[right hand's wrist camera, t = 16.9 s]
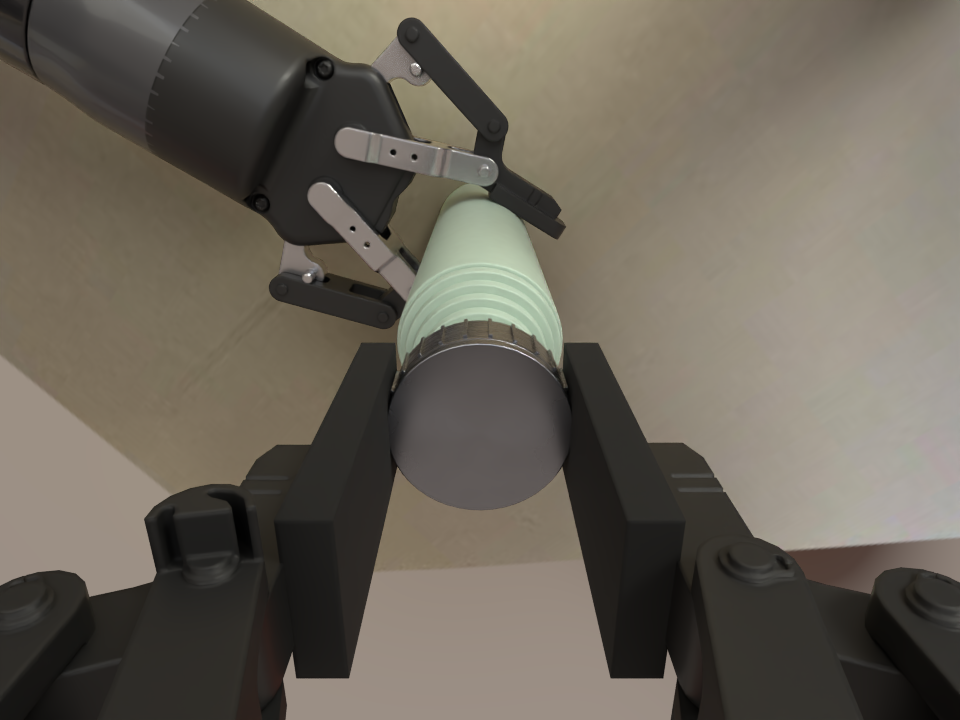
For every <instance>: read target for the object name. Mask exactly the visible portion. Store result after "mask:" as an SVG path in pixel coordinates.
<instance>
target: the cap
mask: <svg viewBox="0 0 960 720" xmlns="http://www.w3.org/2000/svg"><path fill="white" fill-rule="evenodd" d="M568 390H569V389H568V386H567V382H566V379H565V376H564V373H563V370H562V368H560V369H559V368H558V366H557V364H556V362H555V360H554V357H553V354H552V351H551V350H550V349H549V350H547V349H546V348H545V347H544V346H543V345H542V344H541V343H540V342H538V341H537V340H536V336H535V335H534V334H532V336H531V335H529V334H527V333H526V332H524V331H522V330H520V329H518V328H516V327H515V324H511V325H507V324H504V323H500V322H494V321H492V319H490V318H488V321H484V320H475V321H468V319H464V322H460V323H455V324H452V325H449V326H446V327H445V325H442V326H441V329H440V330H438V331H436V332H434V333H432V334H431V335H429V336H428V337H426V338H425V337H424V336H423V337H422V338H421V341H420V343H419V344H418V345H417V346H416V347H415V348H414V349H413V350H412V351H411V353H409V352H407V353H406V355H405V359H404V362H403V365H402V367H401V369H400V371H396V374H395V377H394V381H393V384H392V387H391V390H390V394H392V397H391V400H390V404H389V407H388V427H389V443H390V452H391V455H392V457H393V459H394V461H395V463H396V465H397V466H398V468H399V469H400V471H401V473H402V474H403V475H404V476H405V477H406V479H407V480H408V481H409V482H410V483H411V484H412V485H413V486H415V487H416V488H417V489H418V490H419V491H421V492H422V493H424V494H425V495H427V496H429V497H430V498H432V499H434V500H436V501H438V502H441V503H443V504H446V505H449V506H453V507H457V508H462V509H468V510H491V509H498V508H503V507H507V506H510V505H514V504H516V503H519V502H521V501H523V500H526V499H528V498H529V497H531V496H533V495H534V494H536V493H537V492H539V491H540V490H541V489H543V488H544V487H545V486H546V485H547V484H548V483H549V482H550V481H551V480H552V479H553V478H554V477H555V476H556V474H557V473H558V472H559V471H560V469H561V467H562V466H563V464H564V462H565V461H566V458H567V456H568V454H569V451H570V436H571V420H572V408H571V404H570V401H569V398H568V395H567V391H568Z"/></svg>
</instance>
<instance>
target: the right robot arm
mask: <svg viewBox="0 0 960 720" xmlns="http://www.w3.org/2000/svg"><path fill="white" fill-rule="evenodd" d="M396 371H397V364H396V345H395V343H361V345H360V347H359V349H358V351H357V353H356V355H355V357H354V359H353V361H352V363H351V365H350V367H349V369H348V371H347V373H346V375H345V377H344V379H343V381H342V383H341V385H340V387H339V389H338V391H337V393H336V395H335V397H334V399H333V401H332V404H331V406H330V408H329V410H328V412H327V414H326V416H325V418H324V420H323V422H322V424H321V426H320V428H319V430H318V432H317V434H316V436H315V438H314V440H313V442H312V444H311V445H276V446H275V447H273V448H272V449H271V450H269V451H268V452H266V453H265V454H264V455H262V456H261V457H259V458H258V459H257V460H256V461H255V463H254V464H253V466H252V468H251V469H250V471H249V472H248V474H247V475H246V480H243V482H242V483H241V485H240V487H238V486H235V485H231V484H210V485H204V486H199V487H194V488H190V489H187V490H185V491H182V492H179V493H177V494H174V495H172V496H170V497H168V498H167V499H165V500H164V501H162V502H161V503H159V504H158V505H156V506H154V508H153V509H152V510H151V511H150V512H149V514H148V515H147V516H146V517H145V519H144V521H145V525H146V529H147V533H148V537H149V542H150V546H151V550H152V555H153V559H154V563H155V567H156V572H157V574H156V576H155V578H154V581H153V582H151V583H147V584H144V585H140V586H137V587H133V588H128V589H124V590H119V591H114V592H110V593H105V594H101V595H96V596H91V597H89V594H88V591H87V587H86V584H85V581H83V580H82V579H81V578H80V577H79V576H78V575H77V574H75V573H70V572H65V571H60V570H57V571H46V572H37V573H33V574H29V575H27V576H22V577H19V578H16V579H13V580H11V581H9V582H7V583H5V584H3V585H1V586H0V720H285V719H286V709H287V703H286V696H285V690H284V683H283V677H284V674H285V671H286V668H287V665H288V663H289V660H290V657H291V653H292V652H293V659H294V666H295V672H296V678H349V676H350V671H351V667H352V662H353V658H354V654H355V649H356V645H357V641H358V636H359V632H360V627H361V623H362V619H363V614H364V609H365V605H366V601H367V597H368V592H369V588H370V583H371V579H372V575H373V570H374V566H375V561H376V557H377V553H378V548H379V544H380V540H381V535H382V531H383V526H384V522H385V518H386V513H387V509H388V504H389V500H390V496H391V491H392V487H393V482H394V478H395V474H396V469H397V465H396V463H395V461H394V459H393V457H392V455H391V452H390V443H389V427H388V407H389V404H390V400H391V397H392V394H390V390H391V387H392V384H393V381H394V377H395V374H396ZM563 373H564V376H565V379H566V382H567V386H568V389H569V390H568V391H567V395H568V398H569V401H570V404H571V408H572V420H571V436H570V451H569V454H568V456H567V458H566V461H565V462H564V464H563V466H562V467H563V471H564V475H565V480H566V484H567V489H568V493H569V497H570V502H571V506H572V510H573V515H574V519H575V524H576V528H577V532H578V537H579V541H580V546H581V550H582V554H583V559H584V563H585V568H586V572H587V576H588V581H589V585H590V589H591V594H592V598H593V603H594V607H595V612H596V616H597V620H598V625H599V629H600V634H601V638H602V642H603V647H604V651H605V656H606V660H607V664H608V669H609V673H610V677H611V678H663V676H664V669H665V663H666V656H667V649H668V652H669V655H670V658H671V661H672V663H673V666H674V669H675V672H676V675H677V683H676V689H675V696H674V702H673V709H672V715H671V720H960V583H959V582H957V581H955V580H953V579H951V578H949V577H947V576H944V575H941V574H938V573H934V572H930V571H926V570H923V569H913V568H902V567H901V568H896V569H891V570H886V571H884V572H883V573H882V574H880V575H879V576H878V577H877V578H876V579H875V582H874V586H873V589H872V592H871V594H867V593H863V592H858V591H853V590H849V589H844V588H839V587H835V586H830V585H826V584H822V583H819V582H815V581H811V580H808V579H806V577H805V575H804V572H803V571H802V569H801V568H800V567H799V565H798V564H797V562H796V561H795V559H794V558H792V557H791V556H790V555H788V554H787V553H786V552H784V551H783V550H782V549H780V548H779V547H777V546H775V545H773V544H771V543H768V542H766V541H764V540H762V539H759V538H754V537H753V535H752V534H751V532H750V530H749V529H748V527H747V526H746V524H745V522H744V521H743V519H742V518H741V516H740V515H739V513H738V511H737V510H736V508H735V507H734V505H733V503H732V502H731V500H730V499H729V497H728V496H727V494H726V492H723V488H722V486H721V485H720V483H719V481H718V480H717V478H714V473H713V472H712V470H711V469H710V467H709V466H708V464H707V462H706V461H705V459H704V458H703V457H702V456H701V455H699V454H698V453H696V452H695V451H694V450H692V449H691V448H689V447H688V446H687V445H685V444H684V443H647V441H646V439H645V437H644V435H643V433H642V431H641V429H640V427H639V425H638V423H637V421H636V419H635V416H634V414H633V412H632V410H631V408H630V406H629V404H628V402H627V400H626V398H625V396H624V394H623V392H622V390H621V388H620V386H619V384H618V382H617V380H616V378H615V376H614V374H613V372H612V370H611V368H610V366H609V364H608V362H607V360H606V358H605V356H604V354H603V352H602V350H601V348H600V346H599V344H598V343H564V357H563Z"/></svg>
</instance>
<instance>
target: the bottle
mask: <svg viewBox="0 0 960 720" xmlns="http://www.w3.org/2000/svg"><path fill="white" fill-rule="evenodd" d="M488 318H490V319H492V321H494V322H500V323H504V324H507V325H511V324H515V327H516V328H518V329H520V330H522V331H524V332H526V333H527V334H529V335H531V336H532V334H534V335H535V336H536V340H537V341H538V342H540V343H541V344H542V345H543V346H544V347H545V348H546V349H547V350H549V349H550V350H551V351H552V354H553V357H554V360H555V362H556V364H557V366H558V364H559V361H560V357H561V352H562V341H563V336H562V327H561V323H560V319H559V316H558V313H557V310H556V307H555V305H554V302H553V299H552V297H551V294H550V291H549V289H548V286H547V283H546V281H545V278H544V275H543V273H542V270H541V267H540V264H539V262H538V259H537V256H536V254H535V251H534V248H533V246H532V243H531V240H530V238H529V235H528V232H527V230H526V227H525V224H524V221H523V219H522V218H521V217H519V216H517V215H516V214H514V213H512V212H511V211H510V210H508V209H507V208H505V207H503V206H501V205H500V204H498V203H496V202H495V201H493V200H492V199H490V198H489V197H488V191H487V190H485V189H484V188H482V187H480V186H479V185H475V184H470V183H468V184H465V185H463V186H461V187H459V188H457V189H456V190H455V191H453V192H452V193H451V194H450V195H449V196H448V197H447V199H446V200H445V202H444V204H443V205H442V208H441V210H440V213H439V216H438V218H437V221H436V224H435V226H434V229H433V232H432V235H431V237H430V240H429V243H428V245H427V248H426V251H425V253H424V256H423V259H422V261H421V264H420V267H419V269H418V272H417V275H416V277H415V280H414V283H413V286H412V288H411V291H410V294H409V296H408V299H407V302H406V304H405V307H404V310H403V312H402V315H401V318H400V321H399V326H398V333H397V346H398V353H399V358H400V362H401V366H402V365H403V362H404V359H405V355H406V353H407V352H409V353H411V351H412V350H413V349H414V348H415V347H416V346H417V345H418V344H419V343H420V341H421V338H422V337H423V336H424V337H425V338H426V337H428V336H429V335H431V334H432V333H434V332H436V331H438V330H440V329H441V326H442V325H445V327H446V326H449V325H452V324H455V323H460V322H464V319H468V321H475V320H484V321H488Z"/></svg>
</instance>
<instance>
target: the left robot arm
mask: <svg viewBox="0 0 960 720" xmlns="http://www.w3.org/2000/svg"><path fill="white" fill-rule="evenodd" d="M0 60H2V61H4V62H5V63H7V64H9V65H11V66H12V67H14V68H16V69H17V70H19V71H21V72H23V73H24V74H26V75H28V76H30V77H31V78H33V79H35V80H37V81H38V82H40V83H42V84H44V85H46V86H47V87H49V88H50V89H52V90H54V91H55V92H57V93H58V94H60V95H61V96H63V97H64V98H65V99H67V100H68V101H70V102H71V103H72V104H73V105H75V106H76V107H77V108H79V109H80V110H81V111H83V112H84V113H85V114H87V115H88V116H90V117H91V118H92V119H94V120H96V121H97V122H99V123H100V124H102V125H104V126H105V127H107V128H109V129H110V130H112V131H114V132H116V133H117V134H119V135H121V136H123V137H124V138H126V139H128V140H130V141H131V142H133V143H135V144H137V145H138V146H140V147H142V148H144V149H145V150H147V151H149V152H151V153H153V154H154V155H156V156H158V157H159V158H161V159H163V160H165V161H166V162H168V163H170V164H172V165H173V166H175V167H177V168H179V169H181V170H182V171H184V172H186V173H188V174H189V175H191V176H193V177H195V178H196V179H198V180H200V181H202V182H203V183H205V184H207V185H209V186H210V187H212V188H214V189H216V190H217V191H219V192H221V193H223V194H224V195H226V196H228V197H230V198H231V199H233V200H235V201H237V202H238V203H240V204H242V205H244V206H245V207H247V208H249V209H251V210H253V211H255V212H257V213H259V214H260V215H262V216H263V217H264V218H266V219H267V220H268V221H269V222H270V223H271V225H272V226H273V227H274V229H275V230H276V232H277V233H278V235H279V236H280V237H281V238H282V239H283V240H285V242H284V248H283V253H282V259H281V265H280V270H279V274H278V275H277V276H276V277H275V278H274V279H273V280H272V281H271V282H270V284H269V291H270V293H271V295H272V296H273V297H274V298H275V299H276V300H278V301H281V302H285V303H288V304H292V305H296V306H299V307H303V308H307V309H310V310H314V311H318V312H321V313H325V314H329V315H333V316H336V317H340V318H344V319H347V320H351V321H355V322H358V323H362V324H366V325H369V326H373V327H377V328H380V329H387V328H390V327H391V326H393V325H394V323H395V321H396V320H397V319H399V318H400V317H401V315H402V312H403V310H404V307H405V304H406V302H407V299H408V296H409V294H410V291H411V288H412V286H413V283H414V280H415V277H416V275H417V272H418V269H419V267H420V264H421V263H420V262H419V261H418V260H417V259H416V258H415V256H414V255H413V254H412V253H411V252H410V251H409V250H408V249H407V247H406V246H405V245H404V242H403V240H402V239H401V238H400V236H399V235H398V234H397V233H396V232H395V230H394V229H393V228H392V227H391V226H390V225H389V222H390V220H391V218H392V216H393V215H394V213H395V210H396V206H397V202H398V198H399V195H400V194H401V193H402V192H403V191H404V190H405V189H406V188H407V187H408V185H409V184H410V183H411V182H412V180H413V178H414V176H415V175H416V173H420V174H424V175H429V176H433V177H442V178H448V179H452V180H457V181H461V182H466V183H470V184H475V185H479V186H480V187H482V188H484V189H485V190H487V191H488V197H489V198H490V199H492V200H493V201H495V202H496V203H498V204H500V205H501V206H503V207H505V208H507V209H508V210H510V211H511V212H512V213H514V214H516V215H517V216H519V217H521V218H522V219H524V220H525V221H527V222H529V223H530V224H532V225H533V226H535V227H537V228H538V229H540V230H541V231H543V232H545V233H546V234H548V235H550V236H551V237H553V238H555V239H557V240H558V238H559V237H560V235H561V234H562V232H563V231H564V229H565V228H566V225H565V224H564V223H563V221H562V220H560V219H559V218H557V216H558V215H559V213H560V212H561V209H560V207H559V206H558V204H557V203H556V201H555V200H554V199H553V197H552V196H551V195H549V194H547V193H546V192H544V191H543V190H541V189H540V188H538V187H536V186H535V185H533V184H532V183H530V182H529V181H527V180H525V179H524V178H522V177H521V176H519V175H518V174H516V173H514V172H513V171H511V170H510V169H508V168H507V167H506V166H505V165H504V163H503V161H502V150H503V145H504V141H505V136H506V134H507V131H508V121H507V119H506V117H505V116H504V115H503V113H502V112H501V111H500V110H499V109H498V108H497V107H496V105H495V104H494V103H493V102H492V101H491V100H490V99H489V98H488V96H487V95H486V94H485V93H484V92H483V91H482V90H481V88H480V87H479V86H478V85H477V84H476V83H475V82H474V81H473V79H472V78H471V77H470V76H469V75H468V74H467V73H466V71H465V70H464V69H463V68H462V67H461V66H460V65H459V64H458V62H457V61H456V60H455V59H454V58H453V57H452V56H451V54H450V53H449V52H448V51H447V50H446V49H445V48H444V47H443V45H442V44H441V43H440V42H439V41H438V40H437V39H436V37H435V36H434V35H433V34H432V33H431V32H430V31H429V30H428V28H427V27H426V26H425V25H424V24H423V23H422V22H421V21H420V20H418V19H416V18H407V19H405V20H403V21H402V22H401V23H400V25H399V27H398V30H397V37H396V38H395V39H394V40H393V41H392V43H391V44H390V45H389V46H388V47H387V48H386V49H385V50H384V52H383V53H382V54H381V55H380V56H379V57H378V58H377V59H376V61H375V62H374V63H373V64H372V65H371V66H370V65H367V64H362V63H348V62H344V61H342V60H340V59H338V58H337V57H335V56H333V55H332V54H330V53H329V52H327V51H326V50H324V49H322V48H321V47H319V46H318V45H316V44H315V43H313V42H311V41H310V40H308V39H307V38H305V37H304V36H302V35H300V34H299V33H297V32H296V31H294V30H293V29H291V28H289V27H288V26H286V25H285V24H283V23H282V22H280V21H278V20H277V19H275V18H274V17H272V16H271V15H269V14H267V13H266V12H264V11H263V10H261V9H260V8H258V7H256V6H255V5H253V4H252V3H250V2H249V1H247V0H0ZM398 78H403V79H405V80H407V81H408V82H409V83H410V84H412V85H415V86H424V85H426V84H428V83H429V82H430V81H431V80H433V81H434V82H435V84H436V85H437V86H438V87H439V88H440V89H441V90H442V91H443V92H444V94H445V95H446V96H447V97H448V98H449V99H450V100H451V101H452V102H453V104H454V105H455V106H456V107H457V108H458V109H459V110H460V111H461V112H462V113H463V115H464V116H465V117H466V118H467V119H468V120H469V121H470V122H471V123H472V125H473V126H474V127H475V128H476V129H477V130H478V132H477V137H476V143H475V148H474V151H473V150H469V149H465V148H460V147H456V146H452V145H449V144H446V143H442V142H437V141H433V140H429V139H424V138H420V137H416V136H413V135H412V133H411V131H410V129H409V126H408V124H407V122H406V119H405V117H404V115H403V112H402V110H401V108H400V105H399V103H398V101H397V99H396V96H395V94H394V92H393V89H392V87H391V85H390V82H392V81H393V80H395V79H398ZM346 242H347V243H348V244H349V245H350V246H351V247H352V248H353V249H354V250H355V251H356V253H357V254H358V255H359V256H360V257H361V258H362V259H363V260H364V261H365V262H366V264H367V265H368V266H369V267H370V268H371V269H372V270H374V271H375V272H377V273H379V274H381V275H382V276H383V278H384V279H385V280H386V281H387V282H388V283H389V284H390V285H391V286H392V287H391V288H389V289H388V290H387V289H384V288H380V287H377V286H373V285H370V284H366V283H362V282H359V281H355V280H352V279H348V278H345V277H341V276H337V275H334V274H330V273H328V267H327V265H326V263H325V262H324V261H323V260H321V259H319V258H317V257H315V256H314V255H313V254H312V253H311V251H310V249H309V246H310V245H322V244H334V243H346ZM366 242H369V243H370V245H367V244H366Z"/></svg>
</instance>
